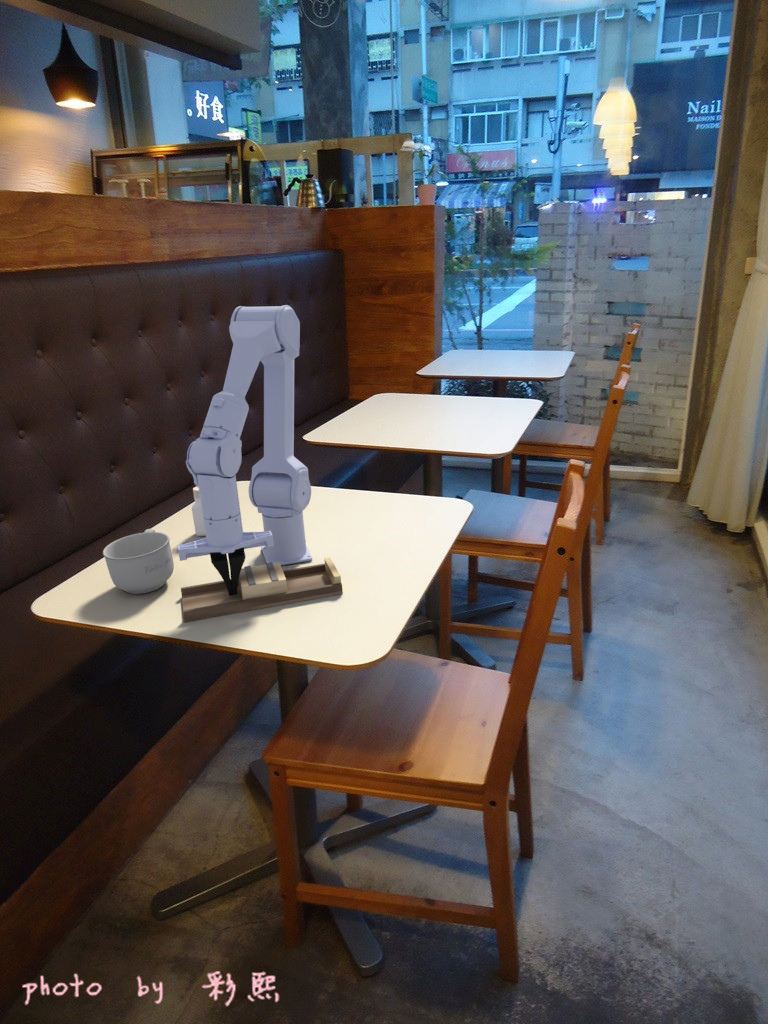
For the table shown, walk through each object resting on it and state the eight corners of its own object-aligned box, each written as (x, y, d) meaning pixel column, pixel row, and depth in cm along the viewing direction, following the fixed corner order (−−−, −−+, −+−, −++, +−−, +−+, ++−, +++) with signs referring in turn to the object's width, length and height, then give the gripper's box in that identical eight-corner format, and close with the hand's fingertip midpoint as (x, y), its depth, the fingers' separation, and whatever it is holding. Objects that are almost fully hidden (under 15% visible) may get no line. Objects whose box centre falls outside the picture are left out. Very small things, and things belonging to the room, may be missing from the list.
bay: (182, 597, 123) (179, 581, 122) (330, 571, 129) (329, 556, 128) (184, 622, 115) (181, 605, 114) (342, 593, 121) (341, 577, 120)
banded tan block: (239, 586, 124) (236, 568, 123) (281, 579, 126) (279, 560, 125) (244, 605, 118) (241, 585, 117) (288, 597, 120) (286, 578, 118)
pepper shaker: (215, 536, 147) (208, 490, 144) (195, 537, 148) (188, 491, 144) (219, 528, 151) (213, 484, 148) (200, 529, 151) (193, 485, 148)
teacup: (159, 602, 122) (151, 557, 119) (98, 599, 124) (89, 555, 121) (194, 565, 135) (188, 524, 132) (139, 564, 137) (131, 523, 134)
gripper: (174, 529, 110) (187, 611, 115) (272, 515, 114) (281, 595, 119) (172, 514, 117) (185, 592, 121) (265, 500, 120) (274, 577, 125)
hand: (232, 592), depth 120 cm, fingers closed
